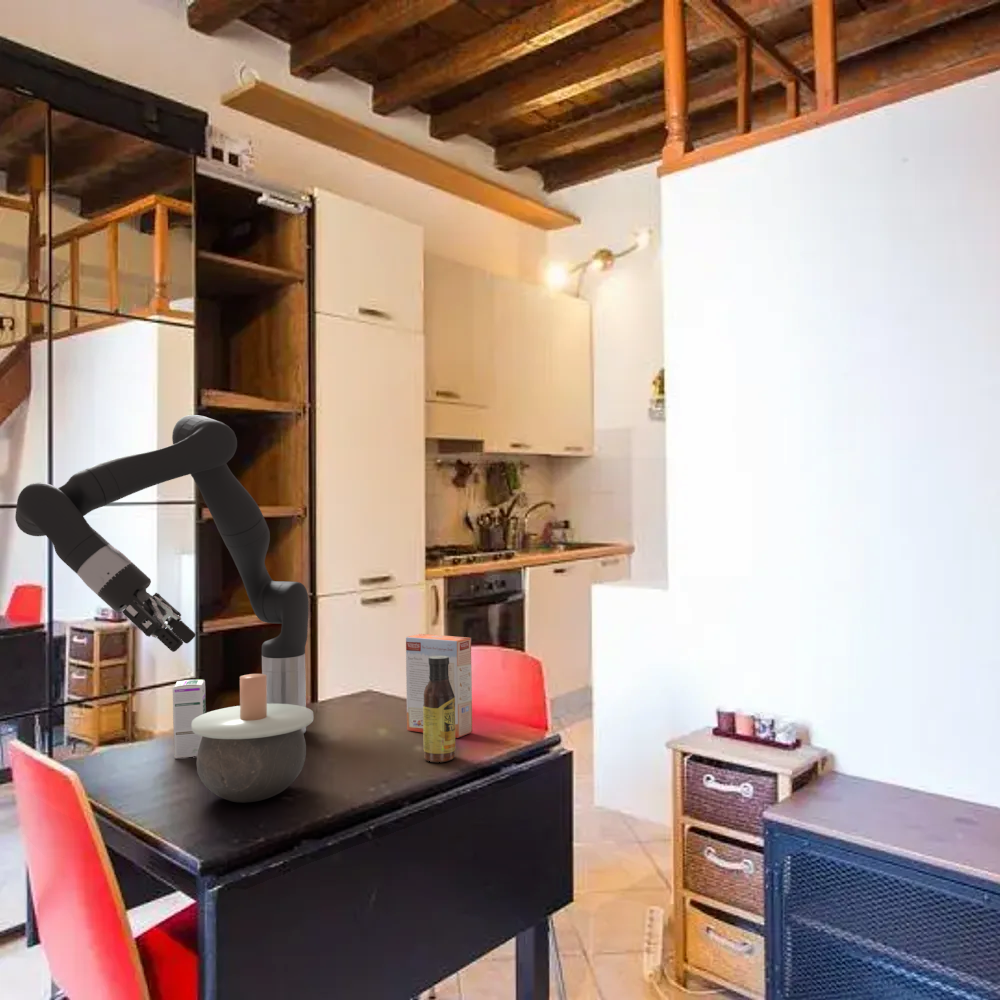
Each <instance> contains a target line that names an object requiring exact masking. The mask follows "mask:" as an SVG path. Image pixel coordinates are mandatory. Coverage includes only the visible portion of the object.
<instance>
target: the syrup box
mask: <svg viewBox="0 0 1000 1000" xmlns="http://www.w3.org/2000/svg"><path fill="white" fill-rule="evenodd" d="M171 689H172V716H173V717H172V718H173V719H172V720H173V722H172V723H173V725H172V726H173V755H174V759H181V758H180V757H191V756H197V754H198V749H199V745H200V742H201V739H202V736H200V735H197V734H195V733H193V731H192V725H191V723H192V721H193V719H195V718H196V717H198V716H200V715H202V714H204V713H207V707H206V705H207V704H206V698H207V697H206V681H205V679H185V680H177V681H176V683H175V684H174V685H173V686H172V688H171Z"/></svg>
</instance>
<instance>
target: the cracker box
mask: <svg viewBox="0 0 1000 1000" xmlns="http://www.w3.org/2000/svg"><path fill="white" fill-rule="evenodd" d="M431 656H448V657H449V665H448V676H449V682H450V684H451V687H452V690H453V693H454V696H455V739H460V738H463V737H464V736H466V735H469V734H472V733H473V692H472V690H473V684H472V683H473V681H472V678H473V677H472V672H473V671H472V637H468V636H467V637H466V636H465V637H464V636H452V635H443V634H441V635H440V634H431V633H430V634H428V633H417V634H412V635H408V636H406V637H405V660H406V661H405V662H406V663H405V664H406V665H405V668H406V669H405V670H406V671H405V673H406V675H405V676H406V683H405V684H406V688H405V689H406V730H407V731H409V732H414V733H415V732H416V733H421V734H423V705H424V690H425V687H426V686H427V685H428V682H429V681H430V679H429V676H430V673H429V672H430V670H429V660H428V659H429V657H431Z"/></svg>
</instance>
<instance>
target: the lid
mask: <svg viewBox="0 0 1000 1000" xmlns="http://www.w3.org/2000/svg"><path fill="white" fill-rule="evenodd" d="M313 722H314V711H313V710H312V709H310V708H309V707H307V706H306V707H303V706H298V705H292V704H267V679H266V675H265V674H262V673H249V674H244V675H240V676H239V705H236V706H235V705H233V706H228V707H224V708H219V709H215V710H211V711H206V713H204V714H202V715H200V716H198V717H196V718H195V719H193V721H192V723H191V725H192V731H193V733H195V734H197V735H200V736H203V737H208V738H216V739H251V738H261V737H269V736H275V735H281V734H285V733H289V732H293V731H296V730H299V729H302V728H304V727H306V728H307V727H308V726H309V725H311V724H312V723H313Z"/></svg>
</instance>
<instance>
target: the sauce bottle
mask: <svg viewBox="0 0 1000 1000" xmlns="http://www.w3.org/2000/svg"><path fill="white" fill-rule="evenodd" d="M428 660H429V670H430V672H429V673H430V676H429V679H430V681H429V682H428V685H427V686H426V687H425V690H424V705H423V733H422V734H423V735H422V736H423V737H422V738H423V740H422V741H423V744H422V745H423V746H422V747H423V758H424V759H425V761H426V762H429V761H430V763H439V762H440V763H445V762H450V761H452V760H453V759H454V758H455V752H456V738H455V696H454V693H453V690H452V687H451V684H450V682H449V676H448V665H449V657H448V656H431V657H429V659H428Z"/></svg>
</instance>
